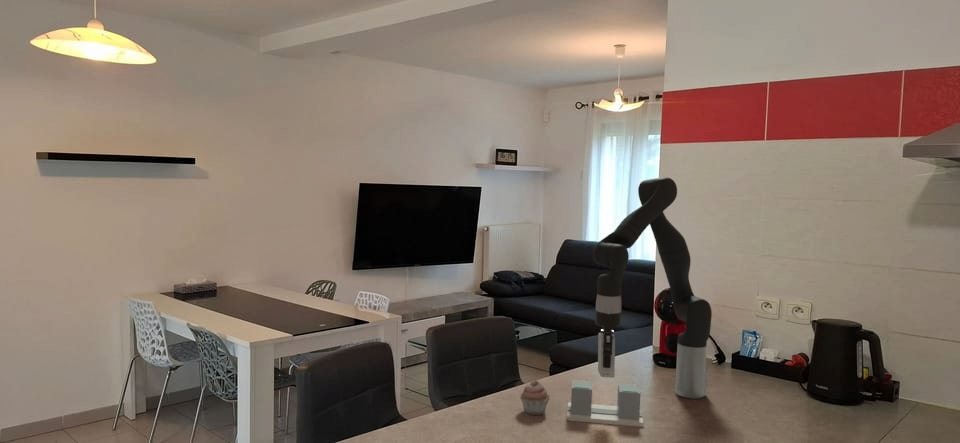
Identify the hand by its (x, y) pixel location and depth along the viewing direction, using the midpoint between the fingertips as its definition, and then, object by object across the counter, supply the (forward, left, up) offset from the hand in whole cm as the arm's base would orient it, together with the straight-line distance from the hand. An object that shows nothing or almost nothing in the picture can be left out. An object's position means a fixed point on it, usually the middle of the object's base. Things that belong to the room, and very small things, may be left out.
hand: (606, 364), depth 188 cm
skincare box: (0, 0, -3) cm, 3 cm away
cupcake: (+18, -11, -16) cm, 27 cm away
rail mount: (0, 0, -16) cm, 16 cm away
